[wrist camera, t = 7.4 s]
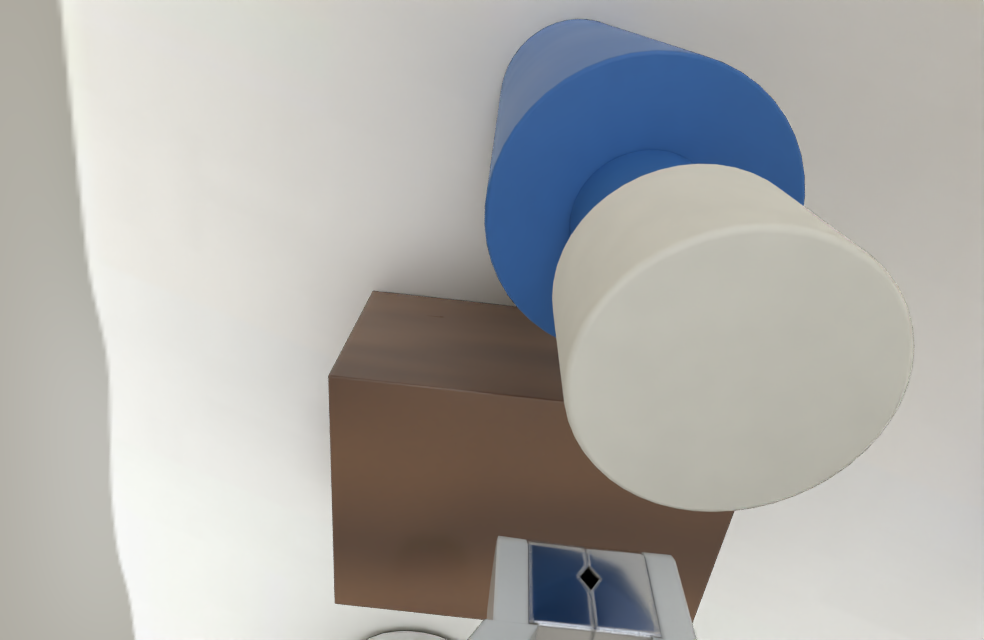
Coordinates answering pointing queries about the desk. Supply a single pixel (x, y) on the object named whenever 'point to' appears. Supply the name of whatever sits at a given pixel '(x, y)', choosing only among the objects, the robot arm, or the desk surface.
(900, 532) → the desk surface
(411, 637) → the milk bottle
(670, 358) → the bottle
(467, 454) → the wooden box
